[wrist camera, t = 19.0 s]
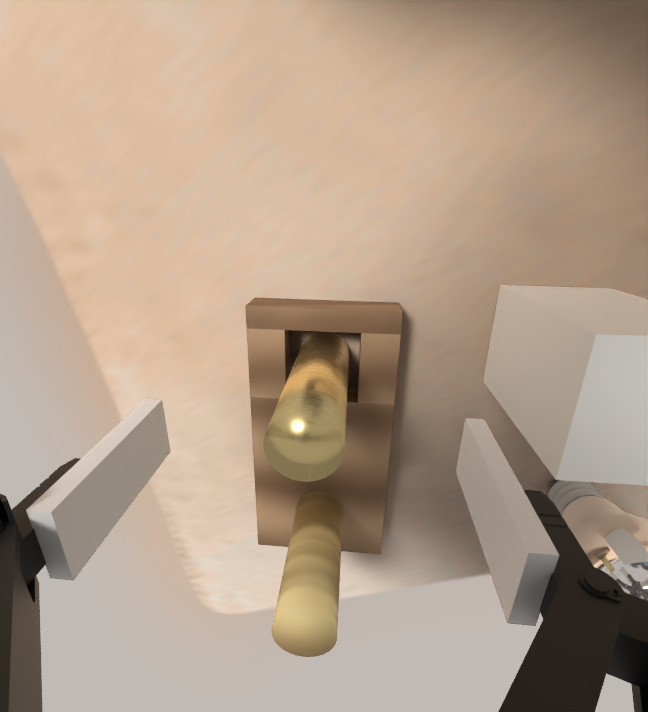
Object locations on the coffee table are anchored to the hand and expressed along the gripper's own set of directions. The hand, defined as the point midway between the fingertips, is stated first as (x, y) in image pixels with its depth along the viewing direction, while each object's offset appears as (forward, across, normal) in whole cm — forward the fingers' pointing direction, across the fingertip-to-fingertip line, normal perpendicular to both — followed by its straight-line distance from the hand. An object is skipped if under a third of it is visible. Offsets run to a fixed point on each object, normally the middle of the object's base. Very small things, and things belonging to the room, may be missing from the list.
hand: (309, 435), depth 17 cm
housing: (+12, +15, +1) cm, 19 cm away
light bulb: (+12, +19, -11) cm, 25 cm away
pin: (+12, 0, -1) cm, 12 cm away
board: (+12, 0, -7) cm, 14 cm away
